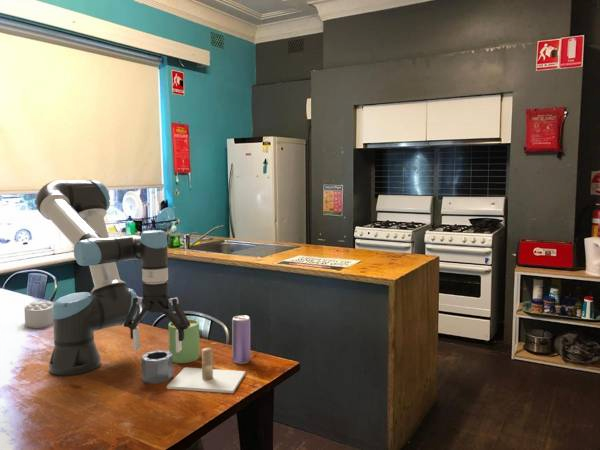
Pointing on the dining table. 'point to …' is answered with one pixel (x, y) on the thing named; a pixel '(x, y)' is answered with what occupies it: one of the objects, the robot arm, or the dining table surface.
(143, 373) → the ring
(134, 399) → the dining table surface
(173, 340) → the mug
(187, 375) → the base board
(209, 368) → the post
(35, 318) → the lumpy-topped squat cylinder
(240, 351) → the beverage can
